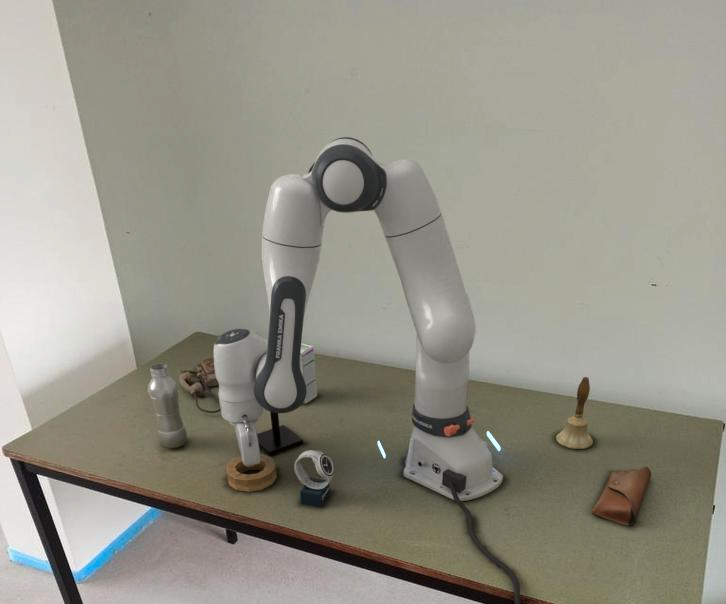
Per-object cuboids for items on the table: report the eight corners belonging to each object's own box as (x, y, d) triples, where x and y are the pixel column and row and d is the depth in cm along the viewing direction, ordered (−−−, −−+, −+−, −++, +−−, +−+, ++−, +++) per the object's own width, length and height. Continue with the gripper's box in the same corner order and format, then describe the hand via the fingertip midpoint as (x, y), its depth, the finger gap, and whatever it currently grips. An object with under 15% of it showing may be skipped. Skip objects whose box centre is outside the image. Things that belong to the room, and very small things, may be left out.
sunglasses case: (608, 469, 146) (630, 450, 141) (634, 490, 145) (657, 471, 141) (590, 513, 132) (613, 494, 128) (618, 536, 132) (642, 518, 127)
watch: (329, 509, 136) (327, 463, 130) (293, 502, 138) (289, 457, 132) (338, 494, 140) (337, 449, 134) (303, 487, 142) (299, 443, 136)
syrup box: (317, 396, 179) (314, 345, 171) (304, 405, 175) (301, 353, 167) (300, 391, 181) (297, 340, 173) (287, 399, 177) (282, 348, 169)
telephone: (194, 420, 168) (192, 405, 166) (173, 370, 194) (171, 356, 191) (253, 411, 173) (252, 396, 171) (224, 364, 199) (223, 350, 197)
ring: (285, 480, 145) (284, 468, 143) (241, 497, 140) (239, 485, 138) (261, 459, 152) (260, 448, 151) (218, 475, 147) (217, 463, 145)
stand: (303, 444, 158) (298, 376, 148) (269, 456, 153) (262, 387, 144) (283, 429, 164) (277, 363, 155) (251, 440, 160) (243, 373, 150)
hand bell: (558, 429, 162) (568, 368, 153) (594, 435, 159) (606, 373, 151) (553, 446, 155) (563, 383, 147) (590, 452, 153) (603, 389, 144)
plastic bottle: (181, 452, 155) (166, 373, 144) (154, 450, 156) (137, 371, 146) (192, 438, 161) (179, 361, 150) (166, 436, 162) (151, 359, 151)
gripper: (264, 426, 133) (270, 484, 141) (249, 383, 150) (256, 437, 157) (232, 431, 132) (240, 489, 139) (221, 387, 148) (229, 441, 156)
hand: (248, 461), depth 148 cm, fingers closed on ring, 2 cm apart
